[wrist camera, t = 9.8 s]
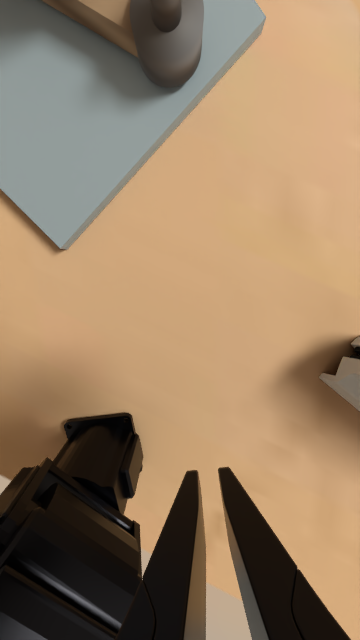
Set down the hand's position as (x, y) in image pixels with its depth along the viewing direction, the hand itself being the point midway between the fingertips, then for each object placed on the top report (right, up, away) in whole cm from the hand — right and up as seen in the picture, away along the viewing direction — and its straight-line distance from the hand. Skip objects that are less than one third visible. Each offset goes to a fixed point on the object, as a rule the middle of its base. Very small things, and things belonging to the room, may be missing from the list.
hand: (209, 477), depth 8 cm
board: (-8, +23, +7) cm, 25 cm away
